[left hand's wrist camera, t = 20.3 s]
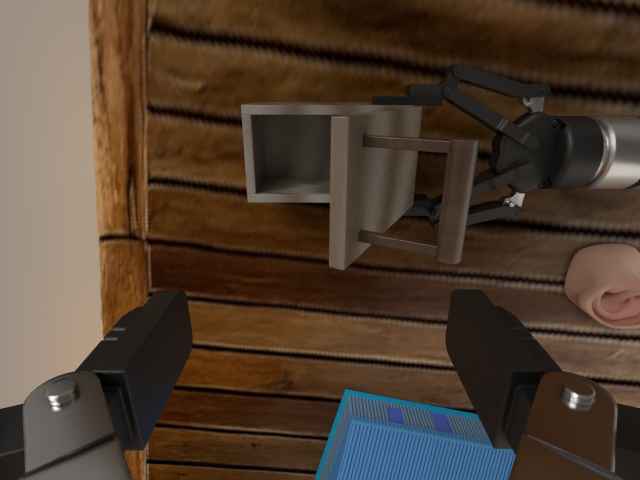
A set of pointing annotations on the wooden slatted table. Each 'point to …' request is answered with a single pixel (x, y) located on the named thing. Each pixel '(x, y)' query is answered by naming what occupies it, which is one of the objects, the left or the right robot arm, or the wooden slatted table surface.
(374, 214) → the lid
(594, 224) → the wooden slatted table surface
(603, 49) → the wooden slatted table surface
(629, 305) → the anatomical model
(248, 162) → the chest
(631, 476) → the left robot arm
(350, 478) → the model building
